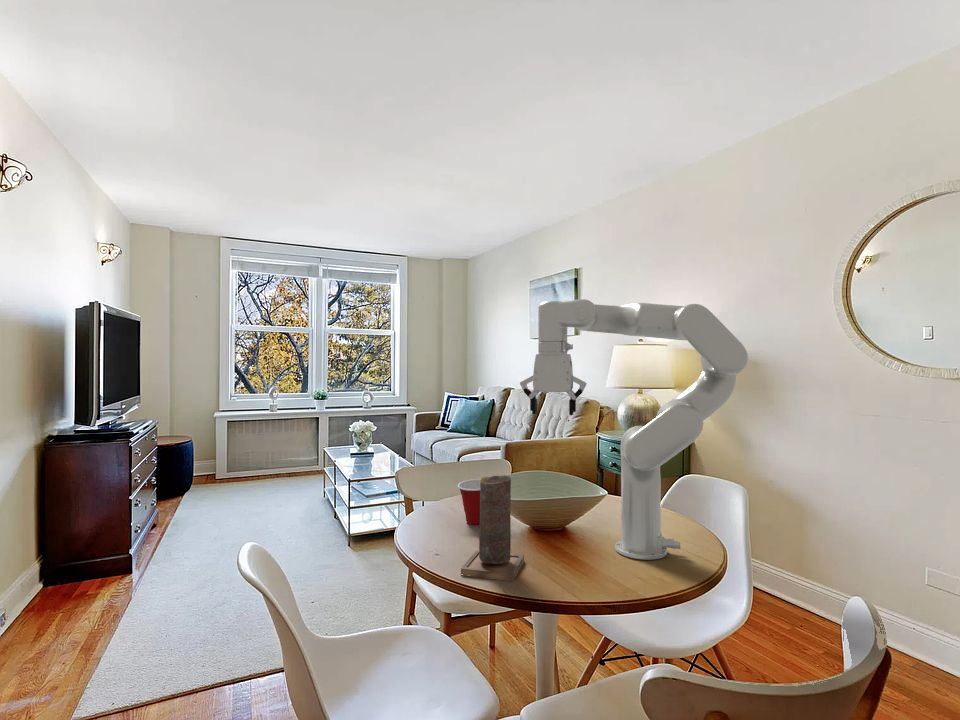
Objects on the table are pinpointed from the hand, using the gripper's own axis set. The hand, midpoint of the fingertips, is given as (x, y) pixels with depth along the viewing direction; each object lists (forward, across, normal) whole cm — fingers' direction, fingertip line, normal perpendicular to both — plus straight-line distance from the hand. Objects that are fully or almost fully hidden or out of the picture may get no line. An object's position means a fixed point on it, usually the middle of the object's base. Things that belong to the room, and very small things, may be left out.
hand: (552, 414), depth 139 cm
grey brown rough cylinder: (+33, +11, +19) cm, 40 cm away
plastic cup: (+34, +25, -13) cm, 45 cm away
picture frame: (+34, +11, +19) cm, 41 cm away
